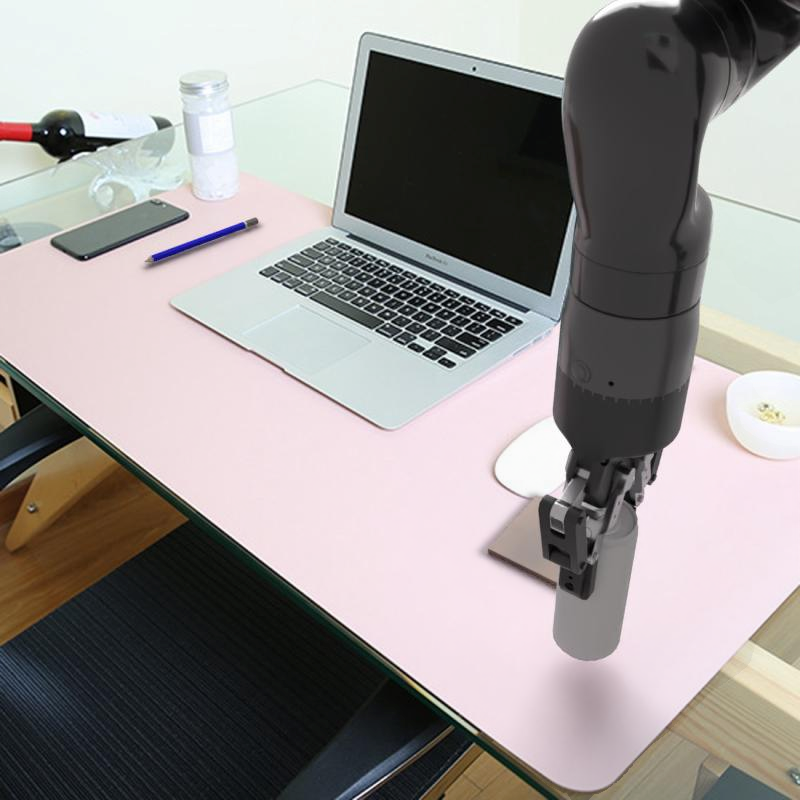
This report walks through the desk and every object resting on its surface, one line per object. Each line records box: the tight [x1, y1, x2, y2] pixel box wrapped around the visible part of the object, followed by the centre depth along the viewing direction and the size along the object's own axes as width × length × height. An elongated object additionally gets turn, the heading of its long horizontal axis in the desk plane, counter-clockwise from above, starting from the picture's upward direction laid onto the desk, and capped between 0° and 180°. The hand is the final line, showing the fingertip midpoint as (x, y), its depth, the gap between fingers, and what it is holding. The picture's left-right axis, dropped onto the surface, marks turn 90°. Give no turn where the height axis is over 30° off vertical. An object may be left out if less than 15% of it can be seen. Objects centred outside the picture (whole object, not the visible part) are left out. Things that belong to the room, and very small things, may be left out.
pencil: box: [144, 216, 259, 263], centre depth 123 cm, size 17×1×1 cm, turn 132°
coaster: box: [487, 495, 559, 587], centre depth 79 cm, size 8×8×1 cm
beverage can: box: [552, 500, 639, 662], centre depth 65 cm, size 5×5×12 cm
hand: (595, 565), depth 64 cm, fingers closed on beverage can, 5 cm apart
